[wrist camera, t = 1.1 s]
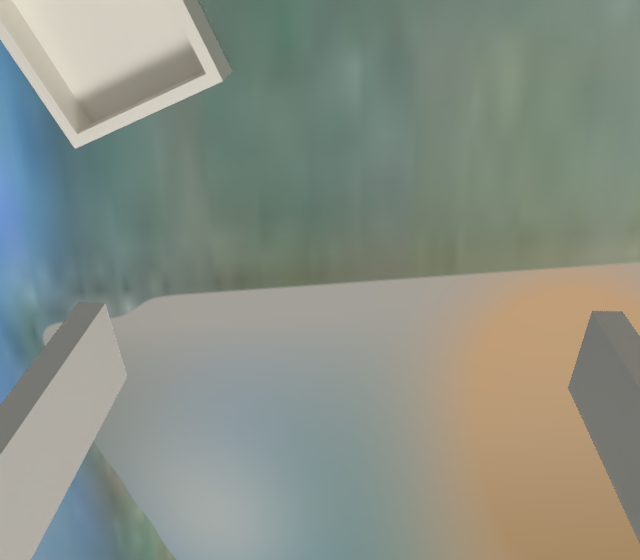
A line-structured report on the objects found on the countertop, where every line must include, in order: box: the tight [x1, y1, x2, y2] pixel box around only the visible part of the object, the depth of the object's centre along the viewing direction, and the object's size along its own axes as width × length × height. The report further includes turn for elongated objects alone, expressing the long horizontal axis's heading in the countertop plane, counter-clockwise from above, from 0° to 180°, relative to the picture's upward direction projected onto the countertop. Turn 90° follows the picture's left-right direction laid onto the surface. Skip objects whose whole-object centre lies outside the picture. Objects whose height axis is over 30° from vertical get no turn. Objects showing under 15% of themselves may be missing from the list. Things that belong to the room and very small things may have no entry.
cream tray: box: [0, 0, 232, 149], centre depth 34 cm, size 12×12×3 cm
